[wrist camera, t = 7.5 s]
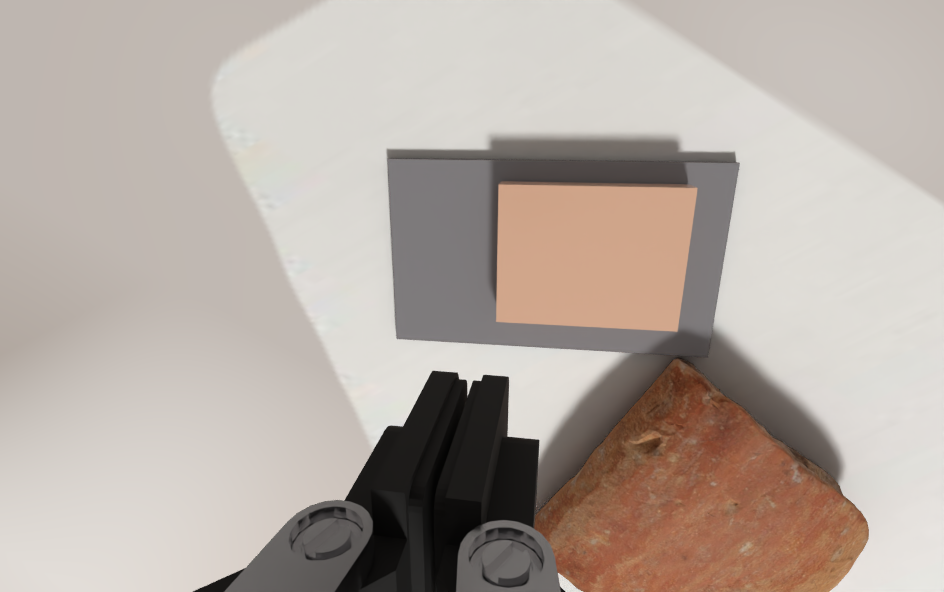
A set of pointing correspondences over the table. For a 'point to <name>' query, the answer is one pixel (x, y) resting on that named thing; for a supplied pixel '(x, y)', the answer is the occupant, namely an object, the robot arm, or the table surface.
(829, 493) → the ceramic shard
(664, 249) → the tile
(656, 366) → the table surface
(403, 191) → the mat
